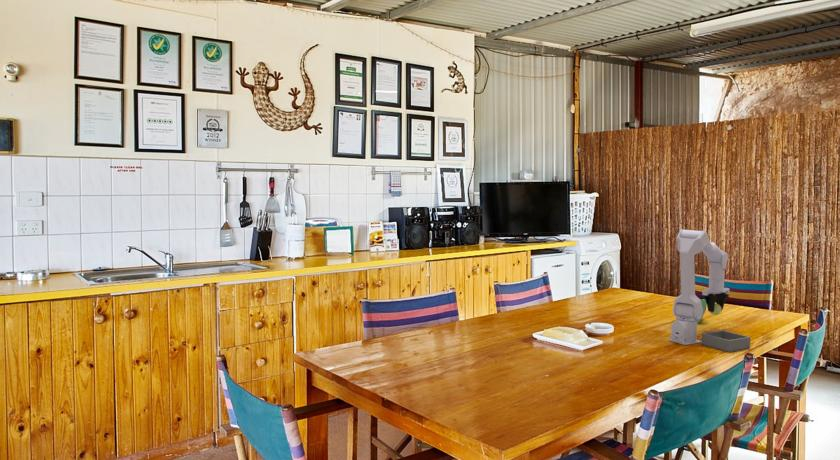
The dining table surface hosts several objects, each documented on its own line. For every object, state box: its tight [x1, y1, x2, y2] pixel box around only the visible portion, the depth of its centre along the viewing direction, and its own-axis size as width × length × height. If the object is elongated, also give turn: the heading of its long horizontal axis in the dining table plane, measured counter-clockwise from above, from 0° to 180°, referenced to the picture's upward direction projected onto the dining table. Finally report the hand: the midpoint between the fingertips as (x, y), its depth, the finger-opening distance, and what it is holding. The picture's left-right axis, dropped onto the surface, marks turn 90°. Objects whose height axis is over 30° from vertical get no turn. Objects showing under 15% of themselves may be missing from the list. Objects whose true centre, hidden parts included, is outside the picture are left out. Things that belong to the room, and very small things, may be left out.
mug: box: [697, 298, 707, 325], centre depth 283 cm, size 15×10×10 cm
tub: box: [700, 329, 751, 354], centre depth 241 cm, size 12×12×4 cm
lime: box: [709, 303, 723, 316], centre depth 264 cm, size 5×5×5 cm
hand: (715, 311), depth 264 cm, fingers closed on lime, 5 cm apart
